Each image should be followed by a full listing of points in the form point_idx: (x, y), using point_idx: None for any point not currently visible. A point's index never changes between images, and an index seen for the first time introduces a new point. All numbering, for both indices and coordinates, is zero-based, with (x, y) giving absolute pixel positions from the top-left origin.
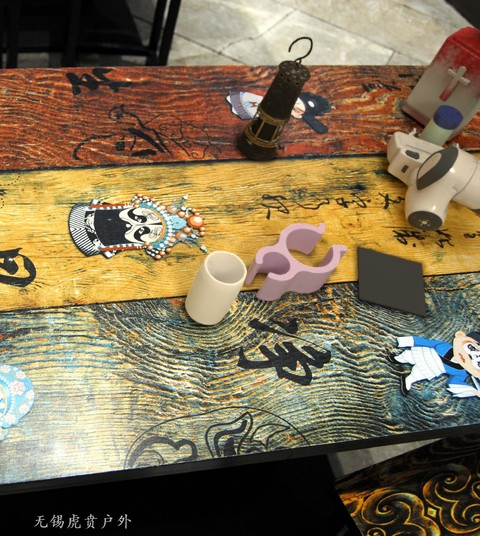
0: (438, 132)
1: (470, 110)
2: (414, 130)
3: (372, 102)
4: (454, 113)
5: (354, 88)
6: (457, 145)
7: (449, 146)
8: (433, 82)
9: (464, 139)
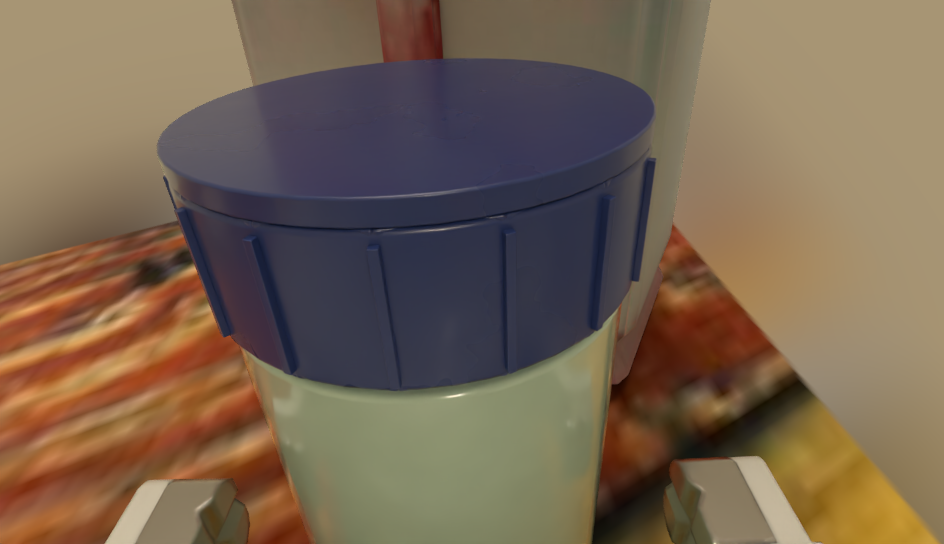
0: (378, 480)
1: (657, 86)
2: (114, 538)
3: (152, 326)
4: (482, 87)
5: (80, 293)
6: (768, 500)
7: (667, 517)
8: (305, 44)
9: (699, 323)
